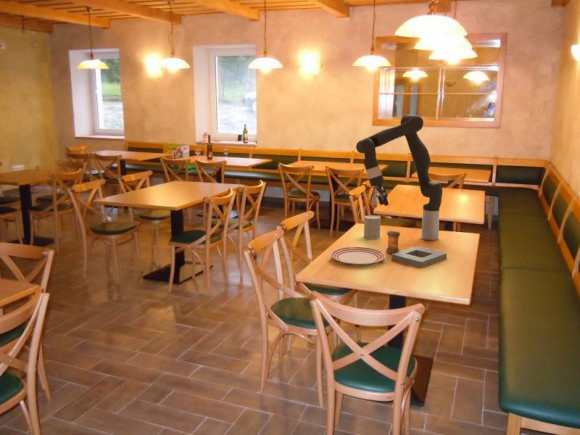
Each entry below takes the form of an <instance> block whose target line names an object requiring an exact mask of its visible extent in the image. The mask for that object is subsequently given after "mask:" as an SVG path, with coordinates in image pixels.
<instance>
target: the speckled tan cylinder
mask: <svg viewBox="0 0 580 435" xmlns="http://www.w3.org/2000/svg"><path fill="white" fill-rule="evenodd" d="M363 218H364V220H363V221H364V222H363V238H364V239H366V240H380V239H381V221H382V220H381V219H382V217H381V216H380V215H375V214H373V215H371V214H370V215H364V217H363Z"/></svg>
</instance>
